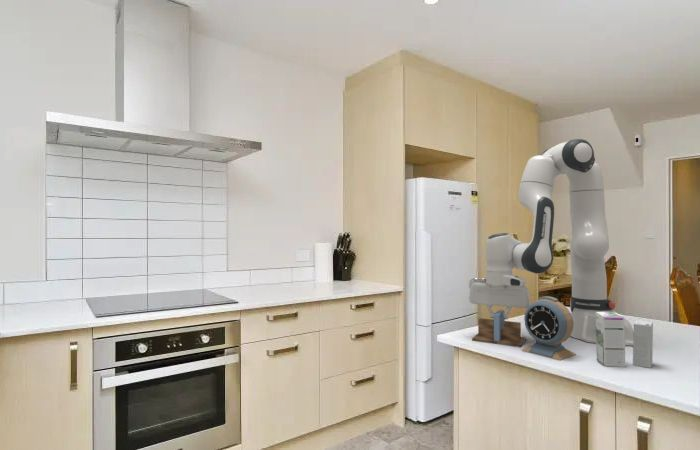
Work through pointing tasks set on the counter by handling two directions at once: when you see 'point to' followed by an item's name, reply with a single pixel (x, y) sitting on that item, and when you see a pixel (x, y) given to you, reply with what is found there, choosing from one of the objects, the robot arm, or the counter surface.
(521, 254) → the robot arm
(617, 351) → the syrup box
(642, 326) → the skincare box
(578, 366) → the counter surface
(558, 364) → the counter surface
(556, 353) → the alarm clock
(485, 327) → the walnut joint base
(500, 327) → the blue slotted plate
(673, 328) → the counter surface
